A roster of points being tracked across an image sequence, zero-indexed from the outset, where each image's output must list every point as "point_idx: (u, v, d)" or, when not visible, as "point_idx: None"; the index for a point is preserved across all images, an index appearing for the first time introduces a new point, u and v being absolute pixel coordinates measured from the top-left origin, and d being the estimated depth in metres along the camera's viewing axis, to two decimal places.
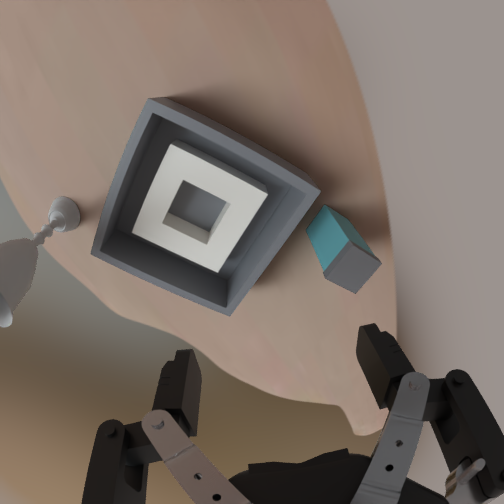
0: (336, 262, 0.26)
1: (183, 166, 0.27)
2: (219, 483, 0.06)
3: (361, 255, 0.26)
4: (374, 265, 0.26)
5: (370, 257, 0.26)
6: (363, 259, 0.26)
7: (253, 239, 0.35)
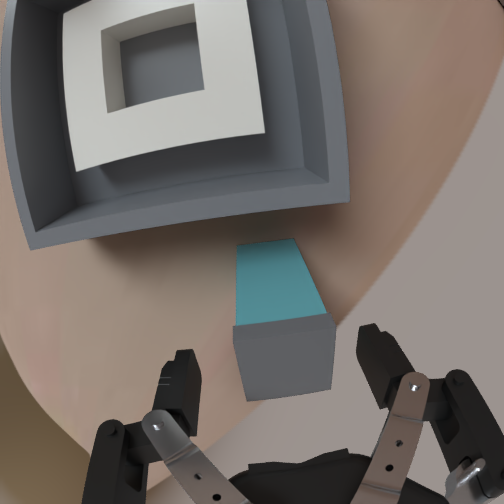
0: (278, 332, 0.11)
1: None
2: (219, 483, 0.06)
3: (325, 354, 0.12)
4: (319, 384, 0.13)
5: (330, 368, 0.12)
6: (320, 363, 0.12)
7: (163, 184, 0.18)
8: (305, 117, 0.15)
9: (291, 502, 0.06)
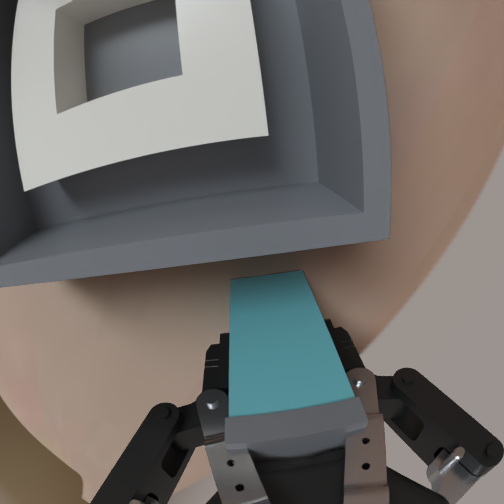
0: (288, 431, 0.07)
1: None
2: (248, 475, 0.06)
3: None
4: None
5: None
6: None
7: (135, 204, 0.13)
8: (323, 115, 0.11)
9: (291, 502, 0.06)
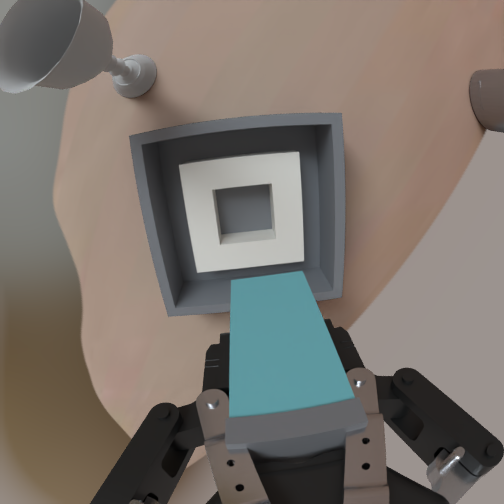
0: (289, 431, 0.07)
1: (284, 176, 0.26)
2: (248, 475, 0.06)
3: None
4: None
5: None
6: None
7: (242, 274, 0.33)
8: (323, 247, 0.30)
9: (291, 502, 0.06)
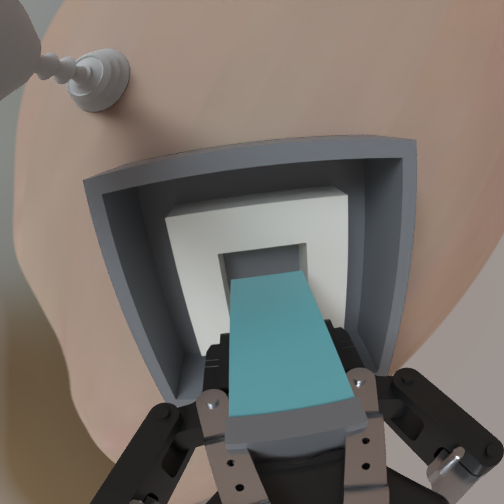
0: (289, 432, 0.07)
1: (325, 231, 0.17)
2: (248, 475, 0.06)
3: None
4: None
5: None
6: None
7: None
8: (367, 314, 0.22)
9: (291, 502, 0.06)
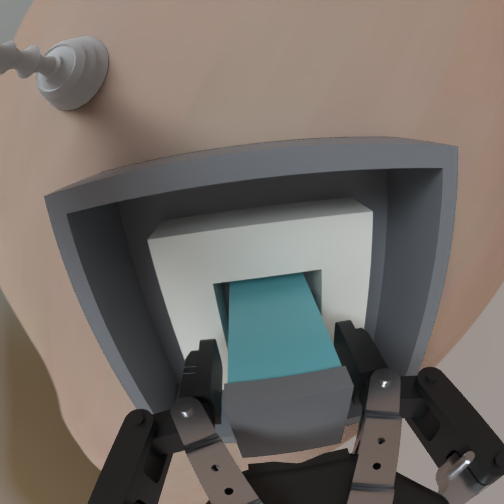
0: (281, 394, 0.08)
1: (345, 255, 0.14)
2: (234, 478, 0.06)
3: (337, 413, 0.09)
4: (328, 439, 0.10)
5: (342, 425, 0.09)
6: (330, 422, 0.09)
7: None
8: (383, 342, 0.19)
9: (291, 502, 0.06)
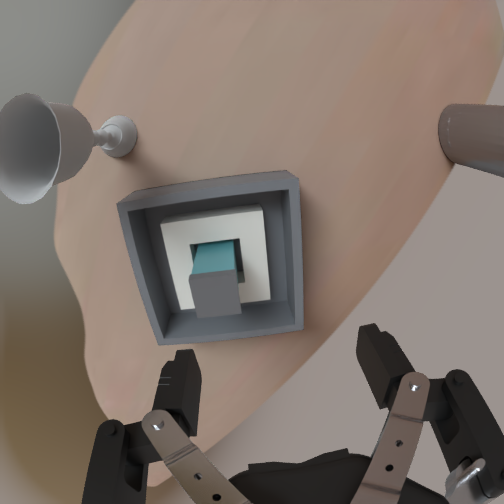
0: (209, 276, 0.25)
1: (250, 231, 0.31)
2: (219, 483, 0.06)
3: (233, 289, 0.26)
4: (234, 309, 0.26)
5: (238, 299, 0.26)
6: (231, 294, 0.26)
7: None
8: (288, 286, 0.36)
9: (291, 502, 0.06)
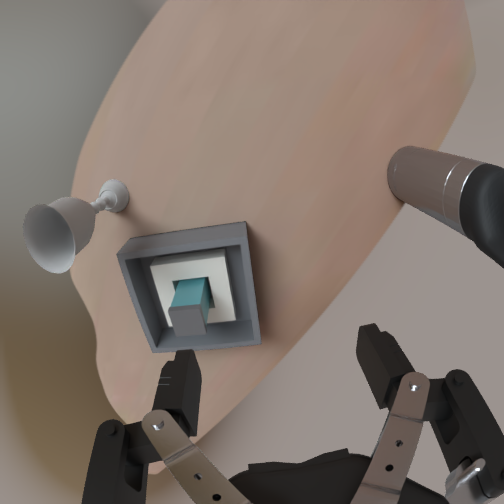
0: (181, 309, 0.35)
1: (216, 271, 0.41)
2: (219, 483, 0.06)
3: (199, 318, 0.35)
4: (201, 331, 0.36)
5: (203, 324, 0.36)
6: (198, 321, 0.36)
7: None
8: None
9: (291, 502, 0.06)
